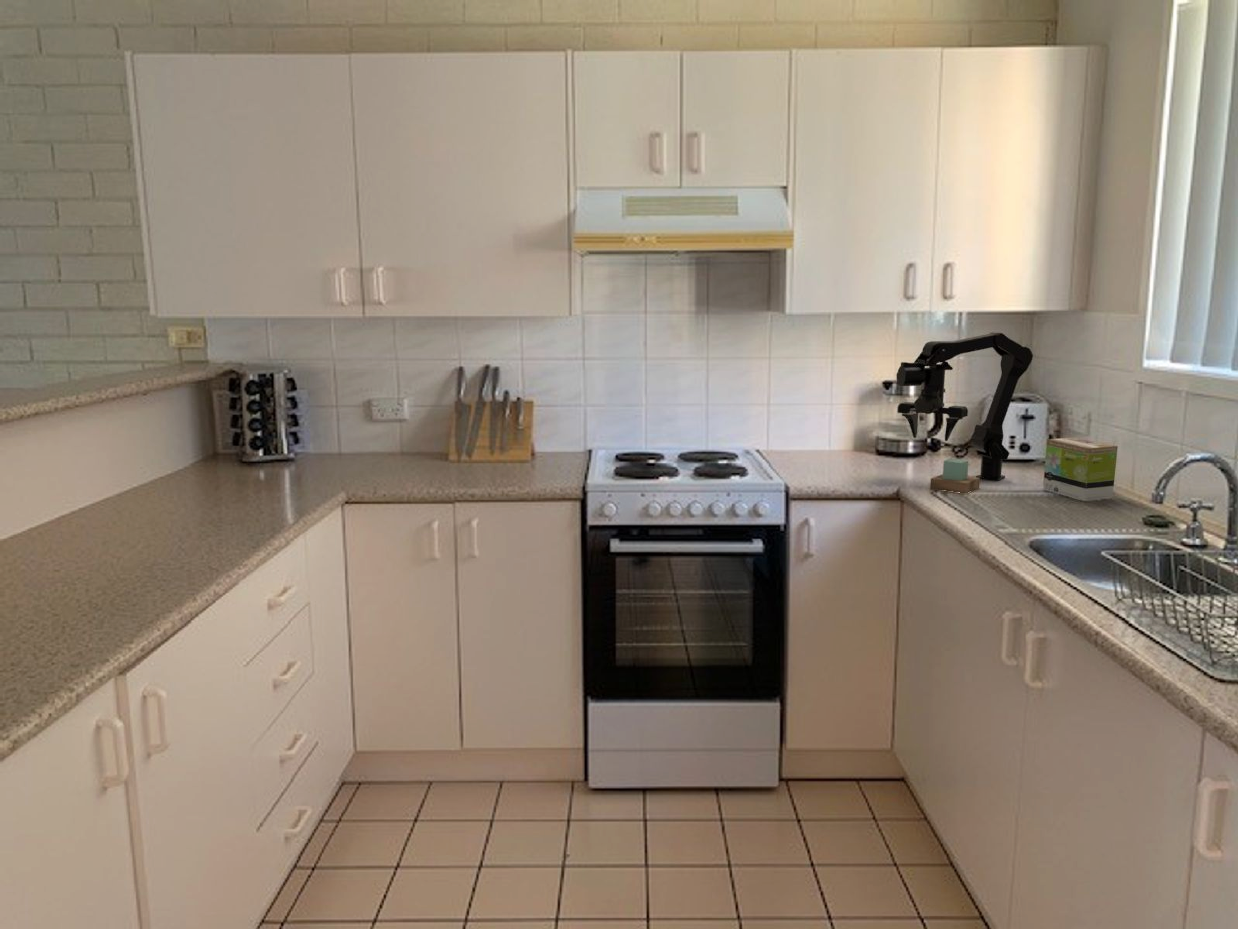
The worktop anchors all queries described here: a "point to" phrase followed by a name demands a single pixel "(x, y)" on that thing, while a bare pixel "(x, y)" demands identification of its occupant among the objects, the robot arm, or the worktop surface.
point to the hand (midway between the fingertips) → (930, 439)
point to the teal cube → (955, 469)
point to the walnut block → (955, 484)
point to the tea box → (1080, 468)
